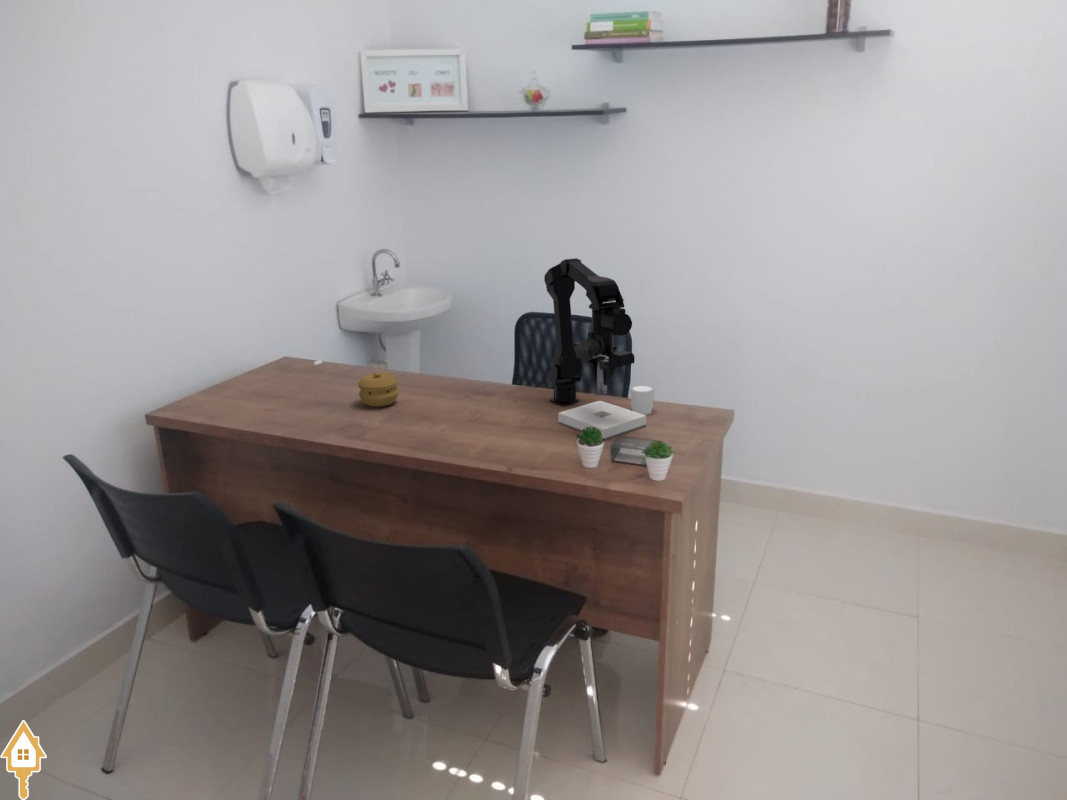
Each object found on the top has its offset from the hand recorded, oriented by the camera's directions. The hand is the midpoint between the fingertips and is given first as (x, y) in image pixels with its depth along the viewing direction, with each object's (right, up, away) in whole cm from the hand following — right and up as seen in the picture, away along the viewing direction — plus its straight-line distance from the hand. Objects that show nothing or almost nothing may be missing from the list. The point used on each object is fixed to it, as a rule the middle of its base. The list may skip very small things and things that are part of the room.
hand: (602, 384), depth 223 cm
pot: (-65, -6, +24) cm, 69 cm away
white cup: (+12, -8, +13) cm, 20 cm away
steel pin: (0, -2, +1) cm, 2 cm away
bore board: (0, -11, +4) cm, 12 cm away
